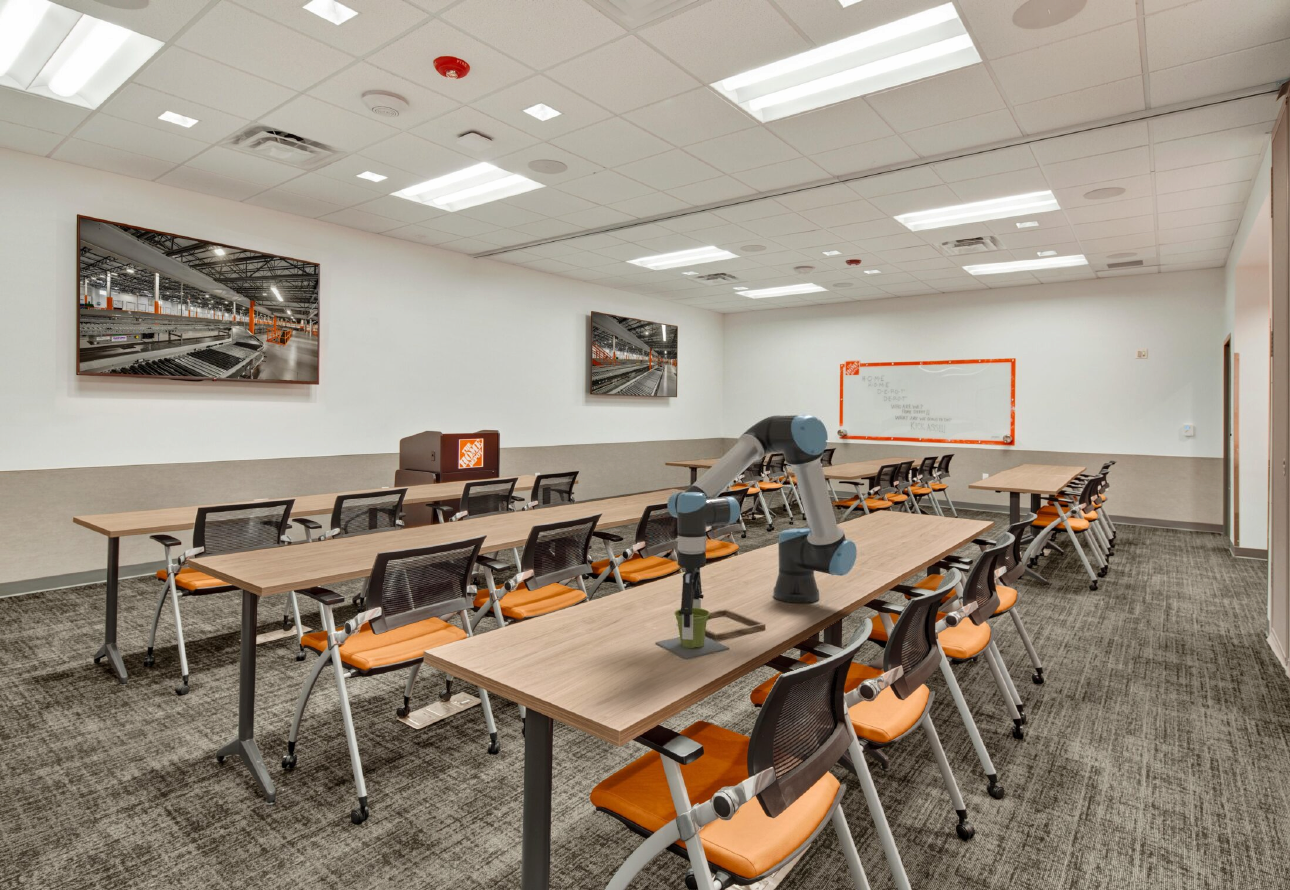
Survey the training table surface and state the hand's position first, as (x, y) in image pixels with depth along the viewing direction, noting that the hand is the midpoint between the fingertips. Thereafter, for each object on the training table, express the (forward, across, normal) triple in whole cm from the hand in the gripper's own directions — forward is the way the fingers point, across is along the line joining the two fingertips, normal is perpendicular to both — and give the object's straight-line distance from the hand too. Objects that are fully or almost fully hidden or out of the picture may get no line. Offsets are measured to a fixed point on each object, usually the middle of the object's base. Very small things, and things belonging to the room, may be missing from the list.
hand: (691, 630), depth 173 cm
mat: (+4, 0, 0) cm, 4 cm away
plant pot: (+4, 0, 0) cm, 4 cm away
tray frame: (+4, -18, +6) cm, 20 cm away
